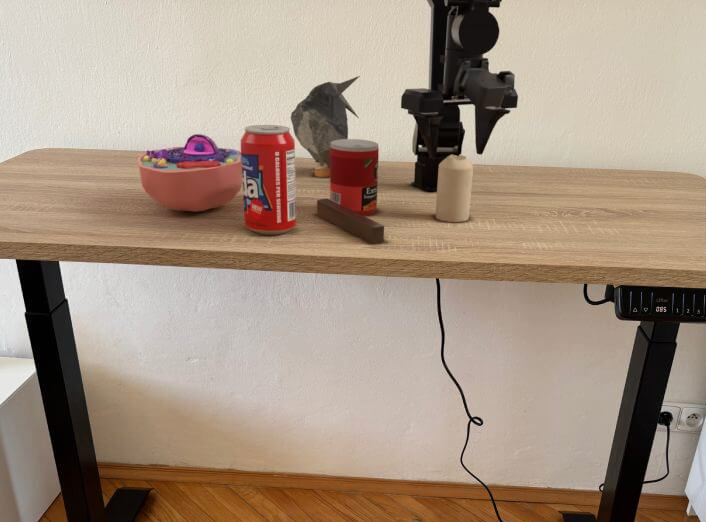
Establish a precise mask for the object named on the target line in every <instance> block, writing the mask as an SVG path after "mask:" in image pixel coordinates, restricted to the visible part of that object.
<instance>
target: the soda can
mask: <svg viewBox="0 0 706 522" xmlns="http://www.w3.org/2000/svg"><path fill="white" fill-rule="evenodd" d="M295 142H296V141H295V139H294V137H293V136H292V133H290V127H288V126H284V125H279V124H278V125H276V124H255V125H247V126H246V127H244V133H243V135H242V136H241V138H240V152H241V162H242V199H243V218H244V225H245V227H246V228H247V229H249V230H251V231H252V232H254V233H256V234H259V235H266V236H275V235H283V234H286V233H288V232H289V231H291V230H292V229H294V228H295V227H296V226H297V192H296V191H297V190H296V189H297V188H296V186H297V185H296V144H295Z"/></svg>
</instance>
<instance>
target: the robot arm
mask: <svg viewBox="0 0 706 522" xmlns="http://www.w3.org/2000/svg"><path fill="white" fill-rule="evenodd" d="M426 1H427V3H428V6H429V7H430V25H429V26H430V27H429V28H430V29H429V30H430V32H429V59H428V88H425V87H422V88H421V87H420V88H406V89H405V90H404V91H403V93H402V94H401V98H400V108H401V109H403V110H407V114H408V115H412V117H413V118H414V121H415V125H414V130H413V134H412V146H411V147H412V150H411V151H412V153H413V155H414V156H416V161H415V162H414V174H413V175H414V177H413V181H411V182H410V185H411V186H414V187H417V188H420V189H422V190H423V191H424V190H425V191H427V192H435V191H436V192H437V186H438V170H439V164H440V163H441V162H442V161H443V160H444V159H446V158H447V157H449V156H450V155H455V156H460V155H462V151H463V143H464V139H465V134H466V129H465V128H464V125H463V121H461V109H460V106H467V105H473V106H474V131H475V132H474V135H475V137H474V138H475V139H474V140H475V151H476V152H475V153H476V154H477V155H483V153H484V152H485V149H486V147H487V144H488V142H489V140H490V137H491V135H492V134H493V131H494V129H495V127H496V125H497V123H498V121H499V120H501V119H502V118H503V117H504V116H505V115H509V114H510V113H511V109H517V108H518V104H519V103H518V102H519V95H518V93H517V90H516V88H515V83H516V82H515V79H516V77H515V75H516V74H514V73H513V72H512V71H511V70H501V71H499V72H498V73H497V72H495V73H493V72H491V71H490V69H489V66H490V61H489V57H484V55H485V54H486V53H489V52H490V51H491V50H492V49H493V48H494V47H495V46H496V44H497V42H498V40H499V37H500V27H499V22H498V20H497V18H496V17H495V15H494V14H493V13H491V12H490V8H495V9H496V8H498V9H499V8H500V7H501V3H502V2H503V1H502V0H426ZM420 146H421V147H420Z"/></svg>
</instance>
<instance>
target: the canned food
mask: <svg viewBox="0 0 706 522" xmlns="http://www.w3.org/2000/svg"><path fill="white" fill-rule="evenodd" d="M379 150H380V149H379V143H377V142H376V141H373V140H368V139H358V138H348V139H340V140H335V141H332V142H331V146H330V177H329V200H332V201H334V202H336V203H338V204H340V205H342V206H344V207H346V208H348V209H350V210H352V211H354V212H357V213H359V214H361V215H363V216H369V215H373V214H374V213H376V211H377V207H378V182H379V181H378V180H379V156H380V155H379Z"/></svg>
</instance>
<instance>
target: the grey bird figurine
mask: <svg viewBox="0 0 706 522" xmlns="http://www.w3.org/2000/svg"><path fill="white" fill-rule="evenodd" d="M360 77H361V75H358V76H356V77H353V78H351V79H347V80H345V81H342V82H332V81H327V82H323V83H321V84H318V85H316V86H314V87H313V88H312V89H311V90H310V92H309V93H308V95H307V96H306V97H305V98H304V99H303V100H301V101H300V102H299V103H298V104H297V105H296V106H295V109H294V110H293V111H291V114H290V121H291V124H292V129H293V133H294V136H295V138H296V140H297V141H298V142H299V144H300V146H301V147H302V148H304V149H305V150H306V151H307V152H308V153H309V155H310V156H311V157H312V158H313V160H314V176H315V177H317V178H330V146H331V142H332V141H335V140H340V139H349V124H348V115H347V110H348V111H349V113H351V114H352V115H354V116H355V117H356V118H357V119H360V117H359V116H358V115H357V113H356V112H355V110H354V109H353V107H352V106H351V105H350V103H349V102H348V100H347V99H346V98H345V96H344V95H343V93H344V92H345V91H346V90H347V89H348V88H349V87H351V86H352V85H353V83H355V82H356V81H357V80H358V79H359V78H360Z"/></svg>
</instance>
